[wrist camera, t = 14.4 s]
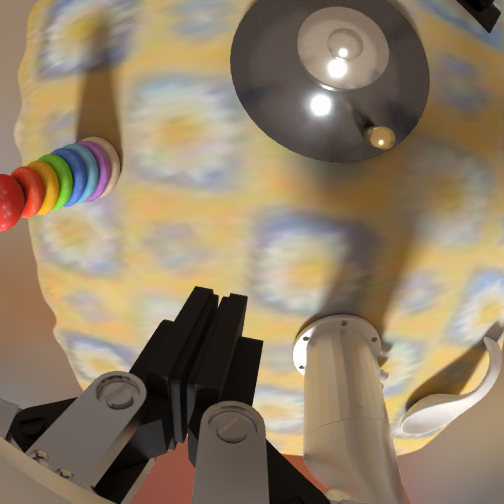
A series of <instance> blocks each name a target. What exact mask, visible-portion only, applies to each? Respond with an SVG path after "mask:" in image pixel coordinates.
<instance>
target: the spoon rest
mask: <svg viewBox="0 0 504 504" xmlns="http://www.w3.org/2000/svg"><path fill="white" fill-rule="evenodd" d="M484 343H485V345H486V347H487V350H488V352H489V357H490V362H489V368H488V371H487V373H486V375H485V377H484V379H483V380H482V382H481V383H480V385H479V386H478V387H477V388H476V389H475V390H473V391H472V392H470V393H467V394H463V395H453V394H431V395H428V396H426V397H424V398H422V399H420V400H419V401H418V402H417V403H415V404H414V405H413V406H412V407H411V408H410V409H409V410H408V411H407V413H406V414H405V416H404V417H403V419H402V422H401V425H400V429H401V431H402V432H403V433H406V434H411V435H418V434H424V433H428V432H431V431H434V430H436V429H438V428H440V427H442V426H444V425H446V424H447V423H449V422H450V421H452V420H453V419H455V418H456V417H457V416H459V415H460V414H461V413H463V412H464V411H466V410H467V409H468V408H470V407H471V406H473V405H474V404H475V403H477V402H478V401H479V400H480V399H482V398H483V397H484V396H485V395H486V394H487V393H488V391H489V390H490V389H491V387H492V386H493V385H494V383H495V381H496V379H497V377H498V375H499V372H500V369H501V363H502V353H501V349H500V347H499V345H498V343H497V342H495V341H494V340H492V339H491V338H489V337H484Z"/></svg>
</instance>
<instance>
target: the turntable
mask: <svg viewBox="0 0 504 504" xmlns="http://www.w3.org/2000/svg"><path fill="white" fill-rule="evenodd" d="M328 7H346V8H350V9H354V10H356V11H359V12H361V13H363V14H365V15H366V16H368V17H369V18H370V19H371V20H373V21H374V22H375V23H376V24H377V25H378V26H379V28H380V29H381V30H382V32H383V34H384V36H385V38H386V40H387V44H388V49H389V59H388V63H387V66H386V68H385V70H384V72H383V73H382V75H381V76H380V77H379V78H378V79H377V80H375V81H374V82H372V83H371V84H369V85H367V86H364V87H362V88H360V89H358V90H355V91H351V92H336V91H331V90H328V89H325V88H323V87H321V86H319V85H317V84H316V83H314V82H313V81H312V80H311V79H310V78H309V77H308V76H307V75H306V74H305V73H304V71H303V70H302V68H301V66H300V64H299V61H298V57H297V40H298V33H299V30H300V27H301V26H302V24H303V22H304V21H305V20H306V19H307V18H308V17H309V16H310V15H311V14H313V13H314V12H316V11H318V10H320V9H323V8H328ZM230 64H231V74H232V80H233V84H234V87H235V90H236V93H237V96H238V98H239V100H240V102H241V104H242V106H243V107H244V109H245V110H246V112H247V113H248V115H249V116H250V118H251V119H252V120H253V121H254V122H255V123H256V125H257V126H258V127H259V128H260V129H261V130H262V131H264V132H265V133H266V134H267V135H268V136H269V137H270V138H272V139H273V140H275V141H276V142H277V143H279V144H280V145H282V146H284V147H286V148H288V149H289V150H291V151H293V152H296V153H298V154H301V155H303V156H306V157H310V158H313V159H317V160H323V161H329V162H352V161H360V160H364V159H369V158H372V157H374V156H377V155H380V154H382V153H384V152H386V151H388V150H390V149H392V148H393V147H394V146H396V145H397V144H399V143H400V142H401V141H402V140H403V139H404V138H405V137H406V136H408V135H409V134H410V132H411V131H412V130H413V128H414V127H415V126H416V124H417V123H418V121H419V119H420V117H421V116H422V113H423V111H424V108H425V106H426V102H427V98H428V93H429V68H428V63H427V58H426V55H425V52H424V49H423V46H422V44H421V42H420V40H419V38H418V36H417V34H416V32H415V31H414V29H413V28H412V26H411V25H410V24H409V22H408V21H407V20H406V19H405V18H404V16H403V15H402V14H401V13H400V12H399V11H398V10H397V9H396V8H395V7H393V6H392V5H391V4H390V3H388V2H387V1H386V0H259V1H258V2H256V3H255V4H254V5H253V6H252V7H251V8H250V10H249V11H248V12H247V13H246V14H245V16H244V17H243V19H242V21H241V22H240V24H239V26H238V28H237V31H236V33H235V35H234V39H233V43H232V47H231V56H230Z"/></svg>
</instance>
